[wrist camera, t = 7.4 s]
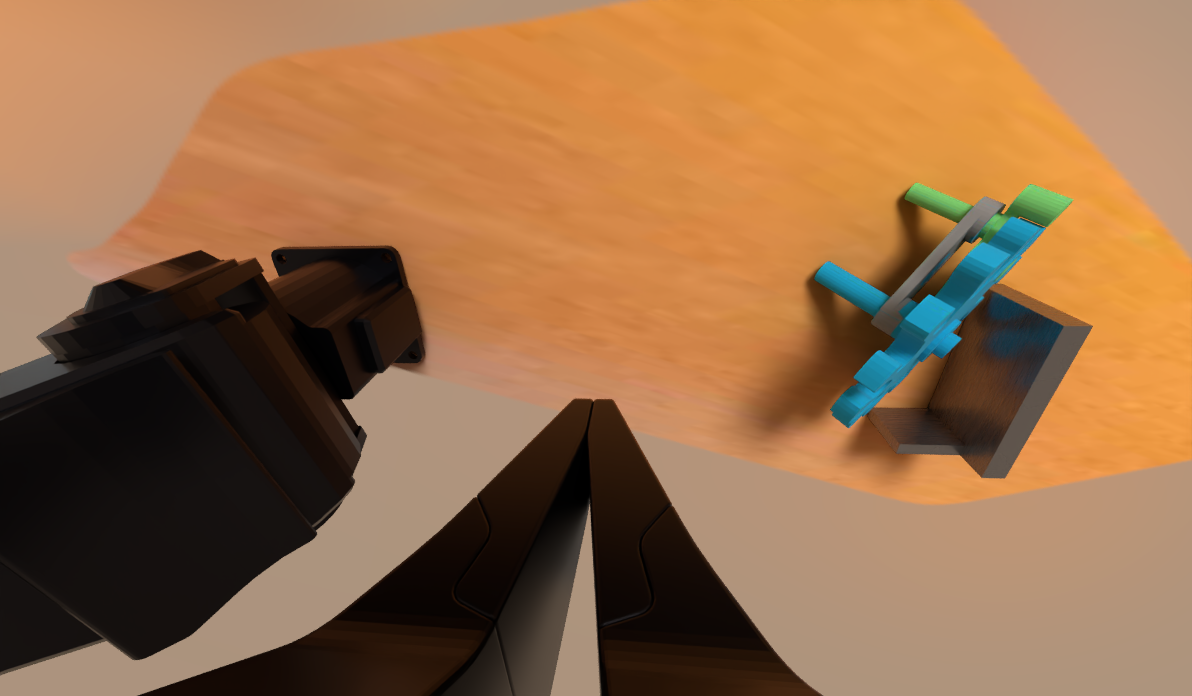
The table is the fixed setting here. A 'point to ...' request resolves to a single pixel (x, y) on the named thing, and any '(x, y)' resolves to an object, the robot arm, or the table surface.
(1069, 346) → the bay frame
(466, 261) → the table surface
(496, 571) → the robot arm
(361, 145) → the table surface
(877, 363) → the gear
